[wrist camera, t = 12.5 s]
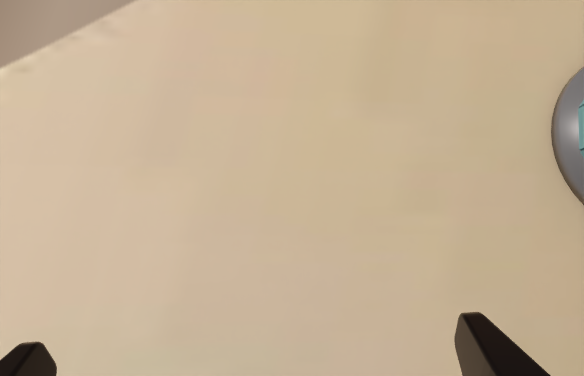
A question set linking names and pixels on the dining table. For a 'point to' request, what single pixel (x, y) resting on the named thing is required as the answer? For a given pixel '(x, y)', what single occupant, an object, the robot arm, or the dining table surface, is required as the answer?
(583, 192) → the teal round bowl
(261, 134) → the dining table surface
